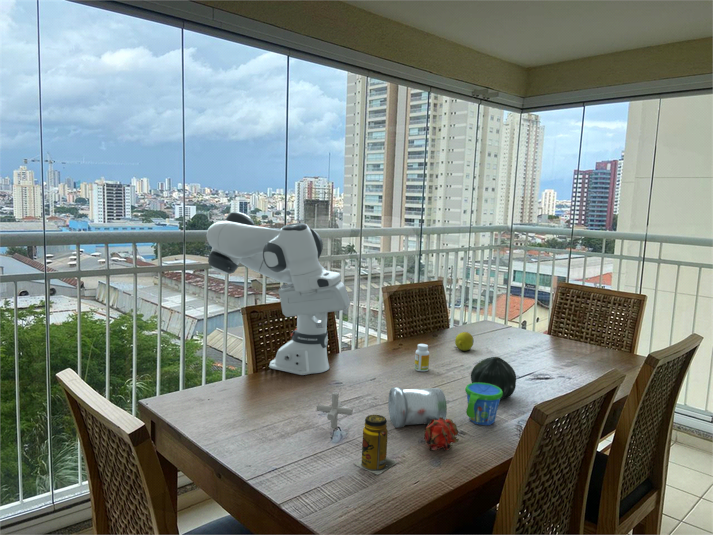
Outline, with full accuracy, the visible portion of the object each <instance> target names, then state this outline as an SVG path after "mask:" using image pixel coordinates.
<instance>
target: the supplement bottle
mask: <svg viewBox="0 0 713 535" xmlns="http://www.w3.org/2000/svg"><path fill="white" fill-rule="evenodd" d="M428 349H429V345H428V344H425V343H418V344H417V349H416V350H415V353H414V370H415V371H418V372H428V371H429V365H430V351H429V350H428Z"/></svg>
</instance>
